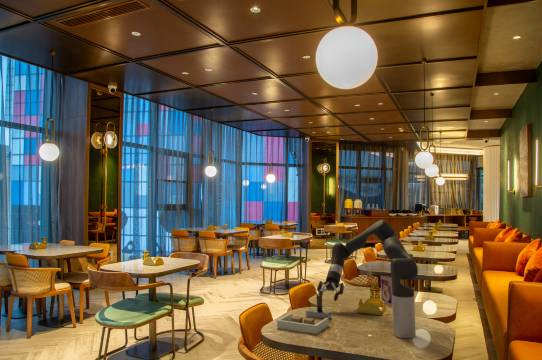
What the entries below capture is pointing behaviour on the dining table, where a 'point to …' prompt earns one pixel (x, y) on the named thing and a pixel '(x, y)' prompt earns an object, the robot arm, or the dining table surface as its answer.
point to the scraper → (318, 310)
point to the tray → (300, 325)
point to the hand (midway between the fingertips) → (327, 299)
